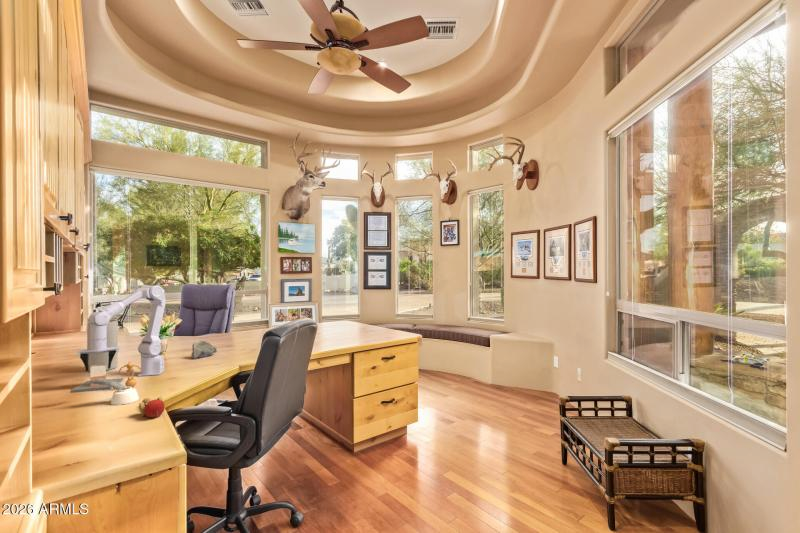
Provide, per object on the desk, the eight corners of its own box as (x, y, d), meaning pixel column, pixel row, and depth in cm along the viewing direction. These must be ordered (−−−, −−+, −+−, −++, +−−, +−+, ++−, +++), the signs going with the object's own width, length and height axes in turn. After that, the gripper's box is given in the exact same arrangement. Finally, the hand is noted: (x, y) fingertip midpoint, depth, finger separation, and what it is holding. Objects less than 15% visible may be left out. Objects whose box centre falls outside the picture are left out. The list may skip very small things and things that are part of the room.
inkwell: (137, 402, 145) (137, 377, 145) (78, 411, 136) (78, 384, 136) (140, 395, 153) (140, 371, 153) (84, 403, 144) (84, 377, 144)
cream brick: (106, 372, 171) (106, 363, 171) (104, 375, 166) (104, 366, 166) (92, 373, 168) (92, 364, 168) (90, 376, 163) (90, 367, 163)
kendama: (131, 412, 139) (141, 419, 126) (135, 394, 140) (144, 399, 127) (155, 411, 144) (167, 417, 131) (158, 394, 145) (170, 398, 132)
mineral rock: (217, 354, 229) (217, 338, 229) (214, 358, 219) (214, 341, 219) (193, 356, 225) (193, 339, 225) (189, 360, 215) (189, 342, 215)
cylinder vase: (123, 366, 200) (123, 320, 200) (99, 372, 188) (100, 323, 188) (105, 365, 203) (105, 319, 203) (80, 371, 191) (80, 322, 191)
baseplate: (123, 380, 175) (123, 378, 175) (109, 389, 162) (109, 386, 162) (87, 382, 171) (87, 380, 171) (70, 392, 158) (70, 390, 158)
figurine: (143, 385, 168) (143, 358, 168) (140, 388, 162) (140, 361, 162) (120, 387, 164) (120, 360, 164) (117, 391, 159) (117, 363, 159)
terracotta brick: (106, 381, 170) (106, 372, 170) (104, 384, 165) (105, 375, 165) (92, 383, 168) (92, 374, 168) (90, 386, 163) (90, 377, 163)
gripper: (119, 336, 174) (119, 365, 174) (78, 339, 166) (78, 369, 166) (118, 338, 168) (118, 368, 168) (76, 341, 160) (76, 373, 160)
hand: (98, 369), depth 166 cm, fingers open, 7 cm apart
